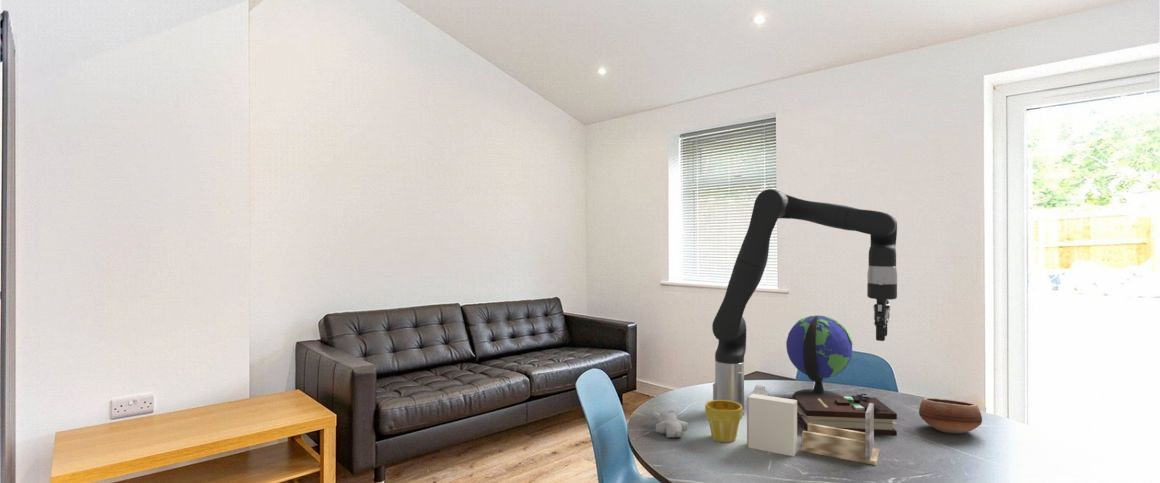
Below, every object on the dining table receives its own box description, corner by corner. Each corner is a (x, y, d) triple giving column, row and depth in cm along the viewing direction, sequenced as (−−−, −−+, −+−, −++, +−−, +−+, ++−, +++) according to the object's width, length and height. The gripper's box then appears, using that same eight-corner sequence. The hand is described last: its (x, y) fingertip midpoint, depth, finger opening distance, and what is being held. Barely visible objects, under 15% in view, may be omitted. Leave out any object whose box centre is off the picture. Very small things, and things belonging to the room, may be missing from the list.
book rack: (801, 450, 153) (801, 403, 153) (809, 439, 161) (809, 394, 161) (876, 465, 143) (876, 414, 143) (879, 452, 152) (880, 404, 152)
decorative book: (785, 390, 187) (881, 394, 182) (785, 413, 187) (881, 417, 182) (799, 408, 167) (907, 412, 163) (799, 433, 168) (907, 438, 163)
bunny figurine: (660, 427, 161) (647, 405, 176) (659, 444, 162) (647, 421, 176) (692, 425, 162) (677, 404, 177) (691, 442, 163) (676, 419, 177)
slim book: (747, 447, 156) (746, 396, 156) (751, 442, 159) (751, 393, 159) (793, 456, 149) (793, 403, 149) (797, 451, 153) (797, 400, 153)
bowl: (975, 427, 171) (975, 394, 171) (987, 445, 157) (987, 409, 157) (915, 420, 178) (916, 389, 178) (922, 436, 164) (922, 402, 163)
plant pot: (722, 447, 156) (722, 412, 156) (697, 435, 165) (697, 402, 165) (750, 441, 160) (750, 407, 160) (725, 430, 170) (725, 397, 169)
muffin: (754, 400, 200) (754, 381, 200) (771, 403, 196) (771, 383, 196) (748, 405, 195) (748, 384, 195) (766, 408, 191) (766, 387, 191)
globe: (865, 408, 191) (865, 319, 190) (799, 408, 191) (799, 319, 191) (836, 390, 213) (836, 311, 213) (777, 390, 213) (777, 311, 213)
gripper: (869, 279, 169) (869, 333, 170) (864, 283, 157) (864, 340, 158) (898, 280, 165) (898, 335, 166) (895, 284, 153) (895, 343, 154)
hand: (881, 338), depth 162 cm, fingers open, 8 cm apart
